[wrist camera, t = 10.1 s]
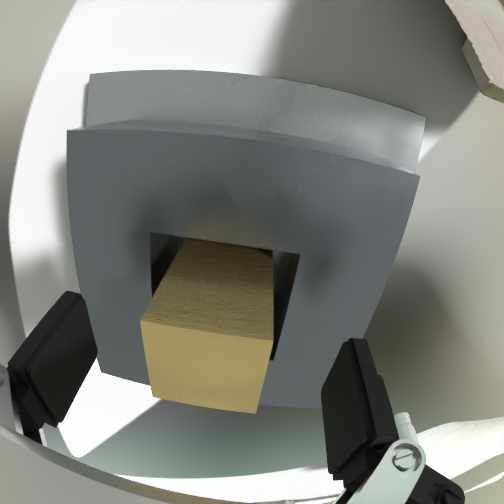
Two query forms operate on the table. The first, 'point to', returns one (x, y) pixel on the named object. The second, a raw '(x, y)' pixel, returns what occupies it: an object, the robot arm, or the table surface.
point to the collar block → (240, 205)
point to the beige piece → (483, 42)
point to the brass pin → (211, 326)
